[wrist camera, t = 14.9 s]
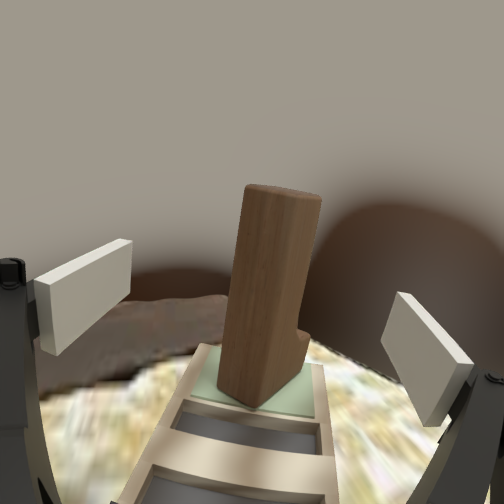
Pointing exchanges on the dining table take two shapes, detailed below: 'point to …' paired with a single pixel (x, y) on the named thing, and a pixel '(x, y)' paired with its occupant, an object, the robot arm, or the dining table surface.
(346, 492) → the dining table surface
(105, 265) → the robot arm
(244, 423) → the board
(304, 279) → the wooden block
